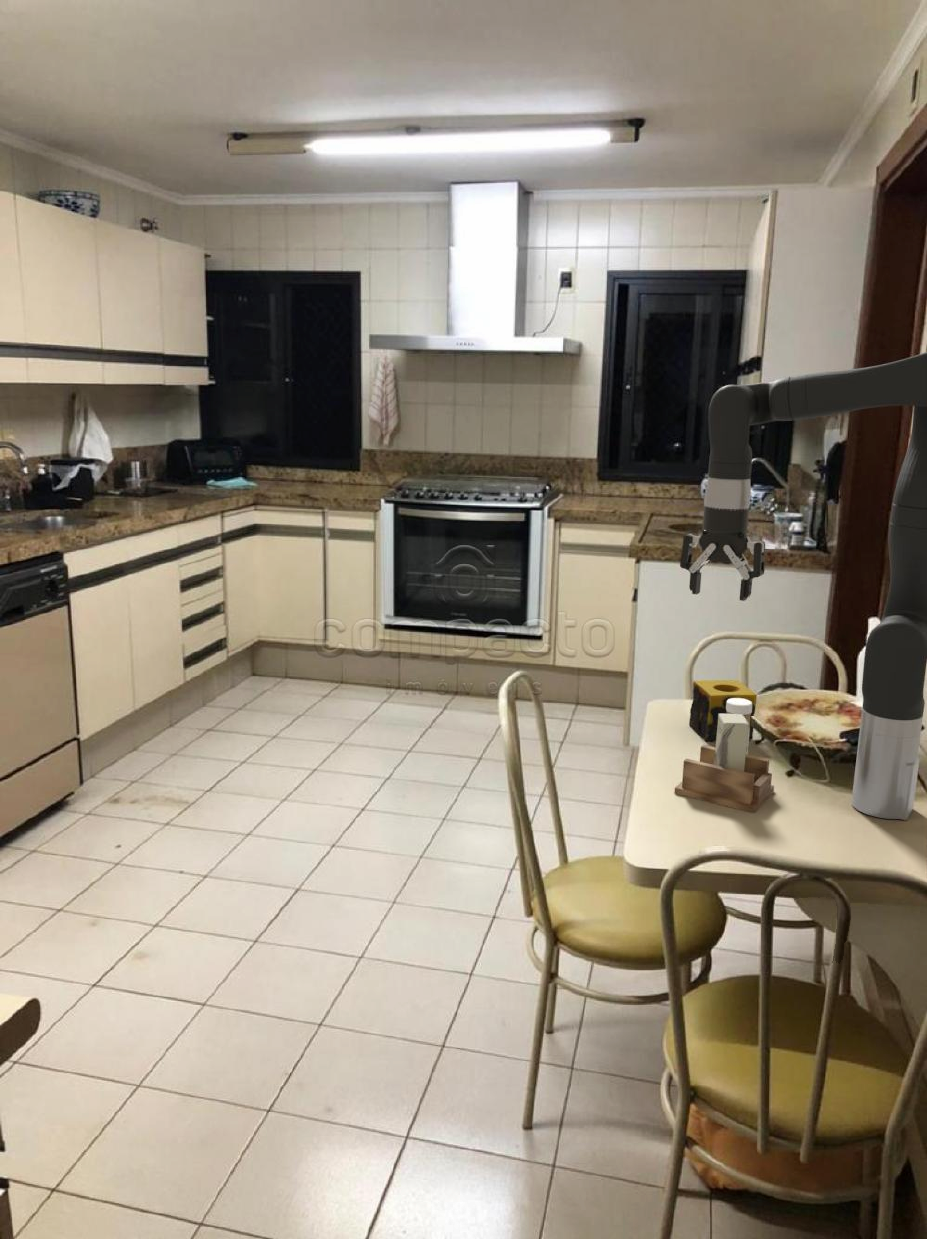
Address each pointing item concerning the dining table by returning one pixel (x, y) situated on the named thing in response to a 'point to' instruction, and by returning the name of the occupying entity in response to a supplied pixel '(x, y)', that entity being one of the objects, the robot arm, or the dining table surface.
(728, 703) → the sprinkles bottle
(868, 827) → the dining table surface
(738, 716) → the box
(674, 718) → the dining table surface
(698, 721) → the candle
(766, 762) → the rack
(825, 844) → the dining table surface
